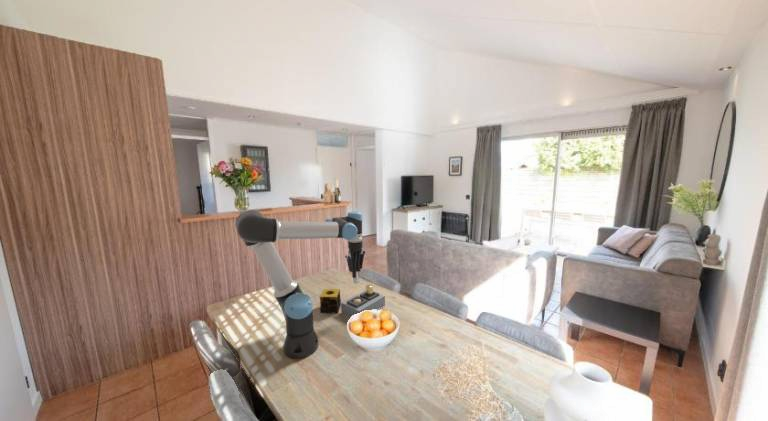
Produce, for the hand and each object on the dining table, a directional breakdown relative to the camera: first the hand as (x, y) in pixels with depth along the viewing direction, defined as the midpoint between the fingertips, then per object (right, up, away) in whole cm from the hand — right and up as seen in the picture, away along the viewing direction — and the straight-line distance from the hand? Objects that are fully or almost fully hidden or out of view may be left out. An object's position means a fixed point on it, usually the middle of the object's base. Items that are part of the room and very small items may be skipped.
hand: (355, 282), depth 149 cm
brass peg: (+7, -11, +10) cm, 16 cm away
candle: (-15, -17, +8) cm, 24 cm away
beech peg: (+1, -17, +3) cm, 18 cm away
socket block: (+4, -17, +7) cm, 19 cm away
